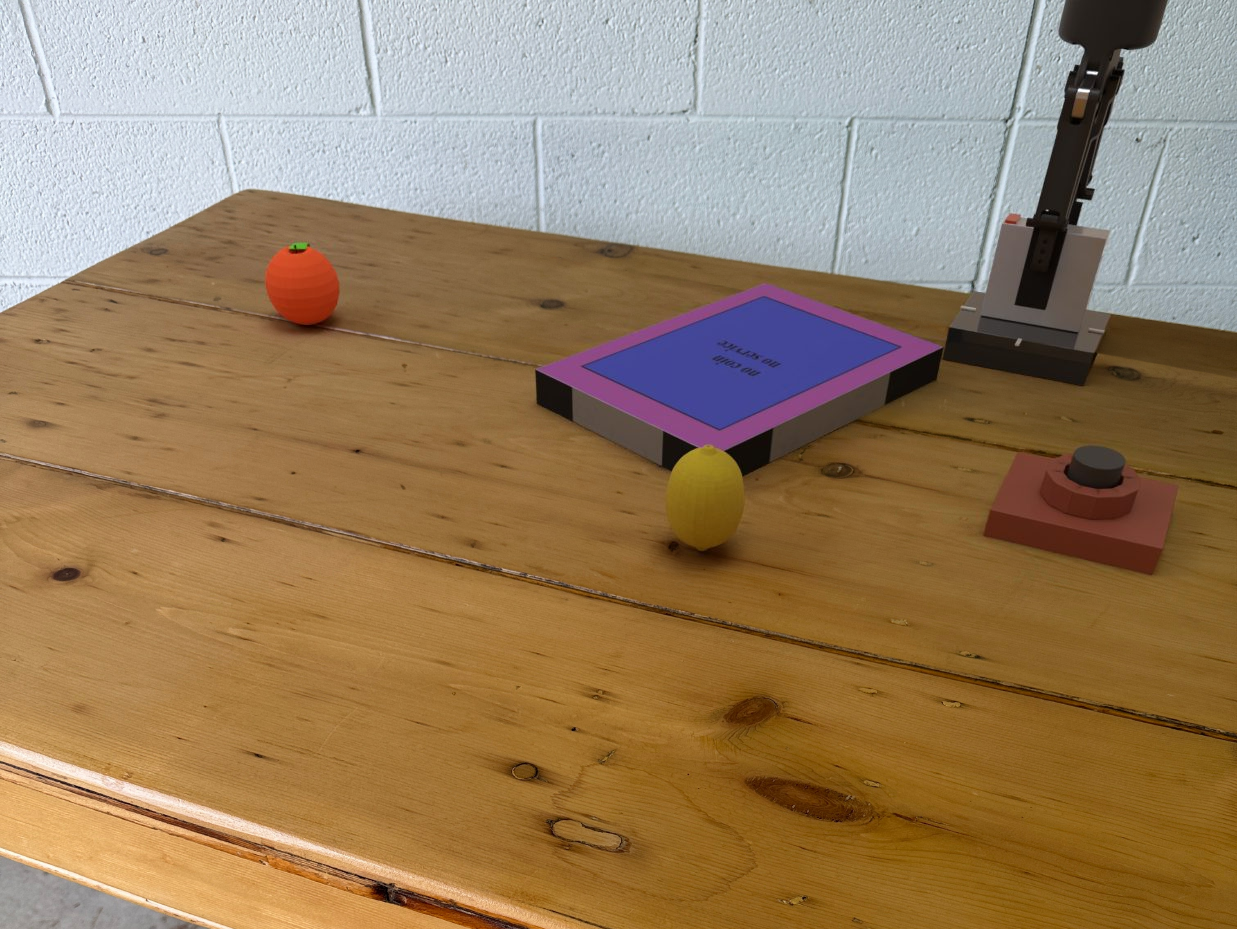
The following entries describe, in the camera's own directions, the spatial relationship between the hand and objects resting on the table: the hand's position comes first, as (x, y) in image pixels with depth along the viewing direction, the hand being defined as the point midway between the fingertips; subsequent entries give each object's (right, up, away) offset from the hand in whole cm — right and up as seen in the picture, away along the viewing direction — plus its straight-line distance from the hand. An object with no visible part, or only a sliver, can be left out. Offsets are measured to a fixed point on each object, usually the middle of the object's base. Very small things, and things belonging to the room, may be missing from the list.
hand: (1038, 291), depth 101 cm
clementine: (-69, +1, +8) cm, 70 cm away
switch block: (-4, -26, -18) cm, 32 cm away
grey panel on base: (0, -2, +2) cm, 3 cm away
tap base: (0, -4, +4) cm, 6 cm away
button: (-4, -24, -21) cm, 32 cm away
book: (-28, -10, -2) cm, 30 cm away
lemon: (-33, -29, -21) cm, 48 cm away
